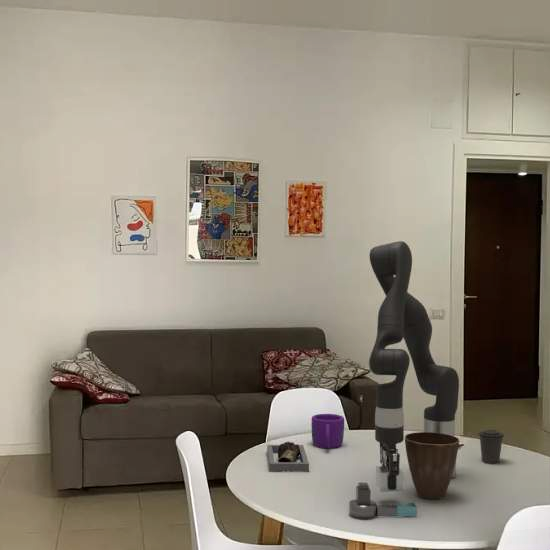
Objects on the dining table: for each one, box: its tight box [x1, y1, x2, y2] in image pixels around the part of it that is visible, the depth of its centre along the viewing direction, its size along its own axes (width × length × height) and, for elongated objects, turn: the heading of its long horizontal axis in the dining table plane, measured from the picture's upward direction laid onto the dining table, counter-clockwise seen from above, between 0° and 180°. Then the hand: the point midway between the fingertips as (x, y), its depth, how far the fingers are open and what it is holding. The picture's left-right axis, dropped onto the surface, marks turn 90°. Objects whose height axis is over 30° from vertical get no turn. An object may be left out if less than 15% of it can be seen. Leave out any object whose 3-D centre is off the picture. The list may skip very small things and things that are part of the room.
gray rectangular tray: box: [266, 444, 310, 473], centre depth 245 cm, size 12×23×2 cm, turn 2°
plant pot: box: [404, 431, 460, 500], centre depth 212 cm, size 15×15×16 cm
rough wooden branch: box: [277, 441, 300, 462], centre depth 244 cm, size 18×7×6 cm, turn 169°
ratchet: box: [348, 482, 418, 521], centre depth 196 cm, size 17×7×8 cm, turn 92°
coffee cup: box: [478, 429, 505, 465], centre depth 247 cm, size 8×8×10 cm
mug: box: [311, 413, 345, 449], centre depth 263 cm, size 17×11×10 cm, turn 176°
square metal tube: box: [375, 465, 404, 493], centre depth 204 cm, size 6×6×5 cm
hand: (389, 485), depth 205 cm, fingers closed on square metal tube, 6 cm apart
